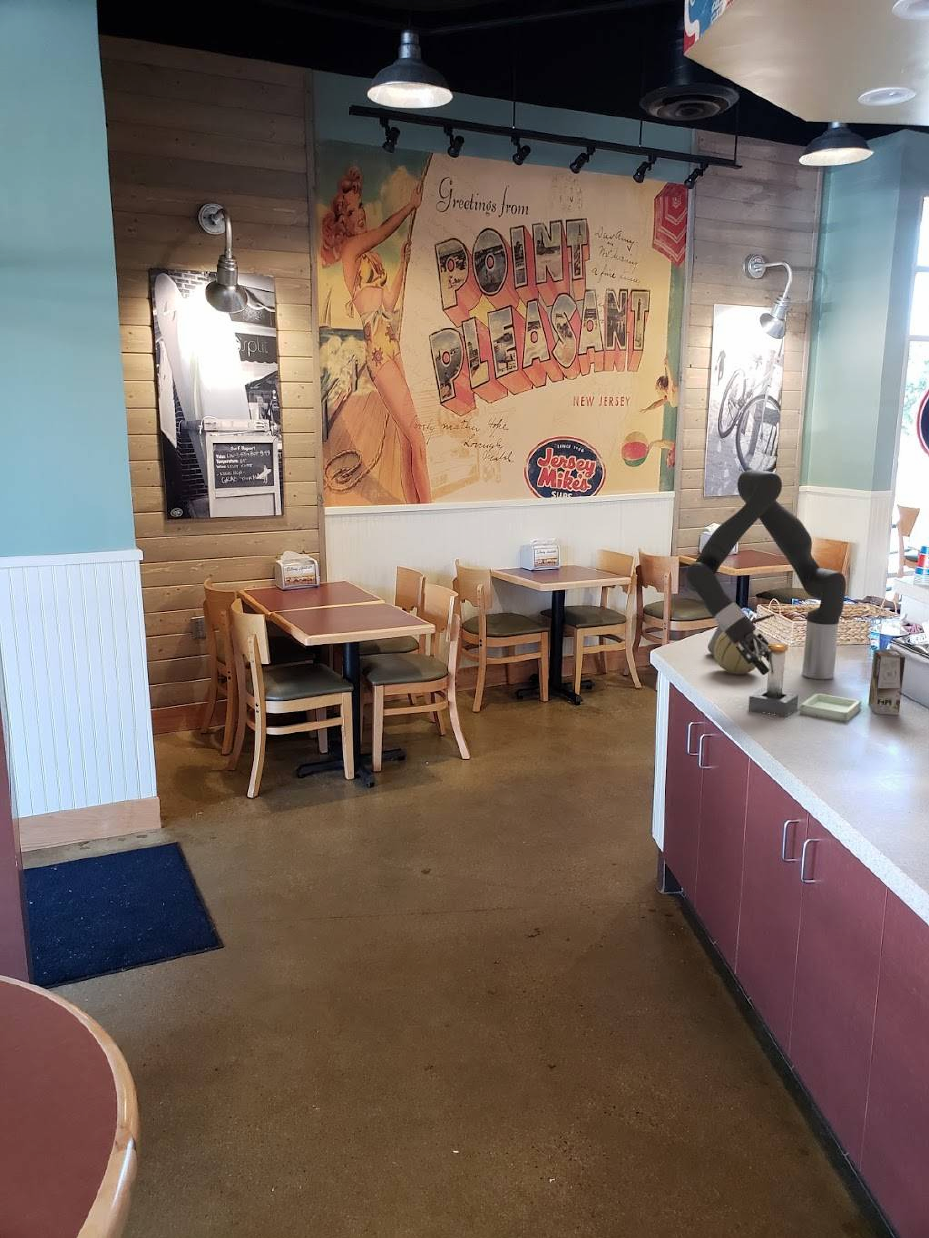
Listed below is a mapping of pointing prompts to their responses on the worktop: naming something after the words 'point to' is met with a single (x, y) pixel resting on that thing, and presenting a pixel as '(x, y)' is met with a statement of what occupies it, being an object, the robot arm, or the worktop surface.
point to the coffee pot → (719, 631)
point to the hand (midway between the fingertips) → (772, 670)
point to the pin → (776, 670)
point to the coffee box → (886, 681)
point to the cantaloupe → (731, 656)
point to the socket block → (773, 703)
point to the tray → (830, 707)
